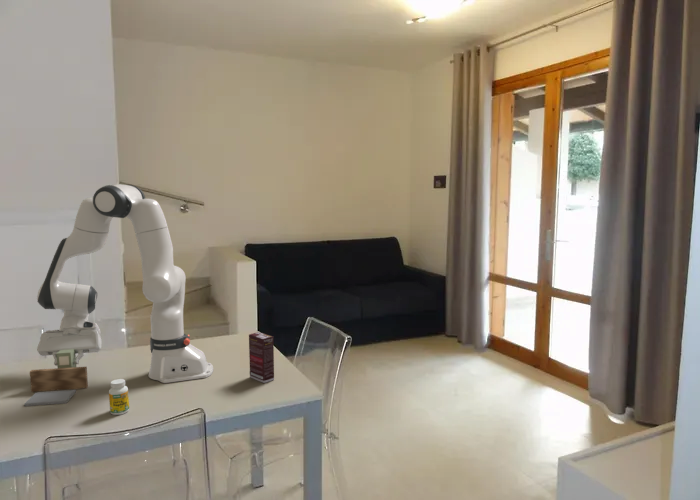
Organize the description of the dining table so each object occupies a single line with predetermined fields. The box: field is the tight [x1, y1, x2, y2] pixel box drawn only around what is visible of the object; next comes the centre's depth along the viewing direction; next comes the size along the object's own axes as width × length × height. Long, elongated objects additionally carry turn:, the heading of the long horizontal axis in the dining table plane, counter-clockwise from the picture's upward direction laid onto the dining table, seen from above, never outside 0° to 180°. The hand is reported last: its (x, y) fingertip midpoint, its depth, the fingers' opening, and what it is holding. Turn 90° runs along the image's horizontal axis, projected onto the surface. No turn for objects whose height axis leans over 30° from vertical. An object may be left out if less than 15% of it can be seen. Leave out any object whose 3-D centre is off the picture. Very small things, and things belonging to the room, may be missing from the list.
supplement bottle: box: [108, 378, 130, 416], centre depth 155 cm, size 5×5×10 cm
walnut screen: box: [29, 366, 89, 393], centre depth 172 cm, size 17×2×7 cm, turn 101°
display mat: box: [23, 389, 77, 407], centre depth 165 cm, size 12×9×1 cm
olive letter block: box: [56, 349, 77, 368], centre depth 179 cm, size 4×5×9 cm
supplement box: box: [248, 331, 275, 384], centre depth 181 cm, size 9×5×16 cm, turn 47°
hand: (66, 364), depth 178 cm, fingers closed on olive letter block, 4 cm apart
